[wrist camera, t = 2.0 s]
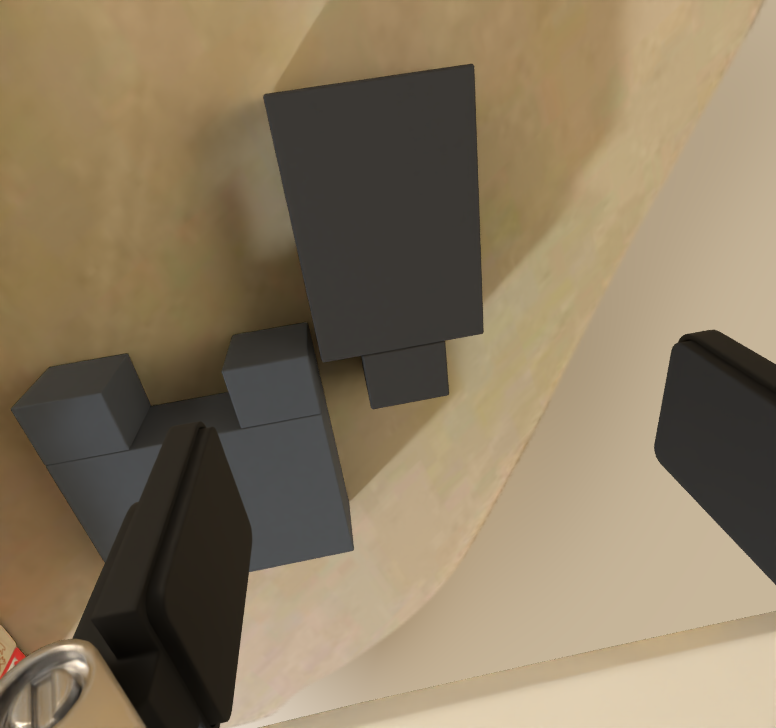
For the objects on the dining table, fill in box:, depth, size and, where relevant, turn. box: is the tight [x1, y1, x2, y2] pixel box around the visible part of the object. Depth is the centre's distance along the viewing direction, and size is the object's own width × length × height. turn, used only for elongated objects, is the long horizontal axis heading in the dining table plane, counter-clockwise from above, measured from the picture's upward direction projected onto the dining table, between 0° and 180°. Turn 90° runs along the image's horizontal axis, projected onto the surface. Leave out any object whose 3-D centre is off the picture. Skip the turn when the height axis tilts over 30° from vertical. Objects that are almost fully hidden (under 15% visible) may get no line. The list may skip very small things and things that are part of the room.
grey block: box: [11, 322, 354, 572], centre depth 25 cm, size 12×12×4 cm
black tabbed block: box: [263, 64, 484, 409], centre depth 21 cm, size 13×7×4 cm, turn 7°
